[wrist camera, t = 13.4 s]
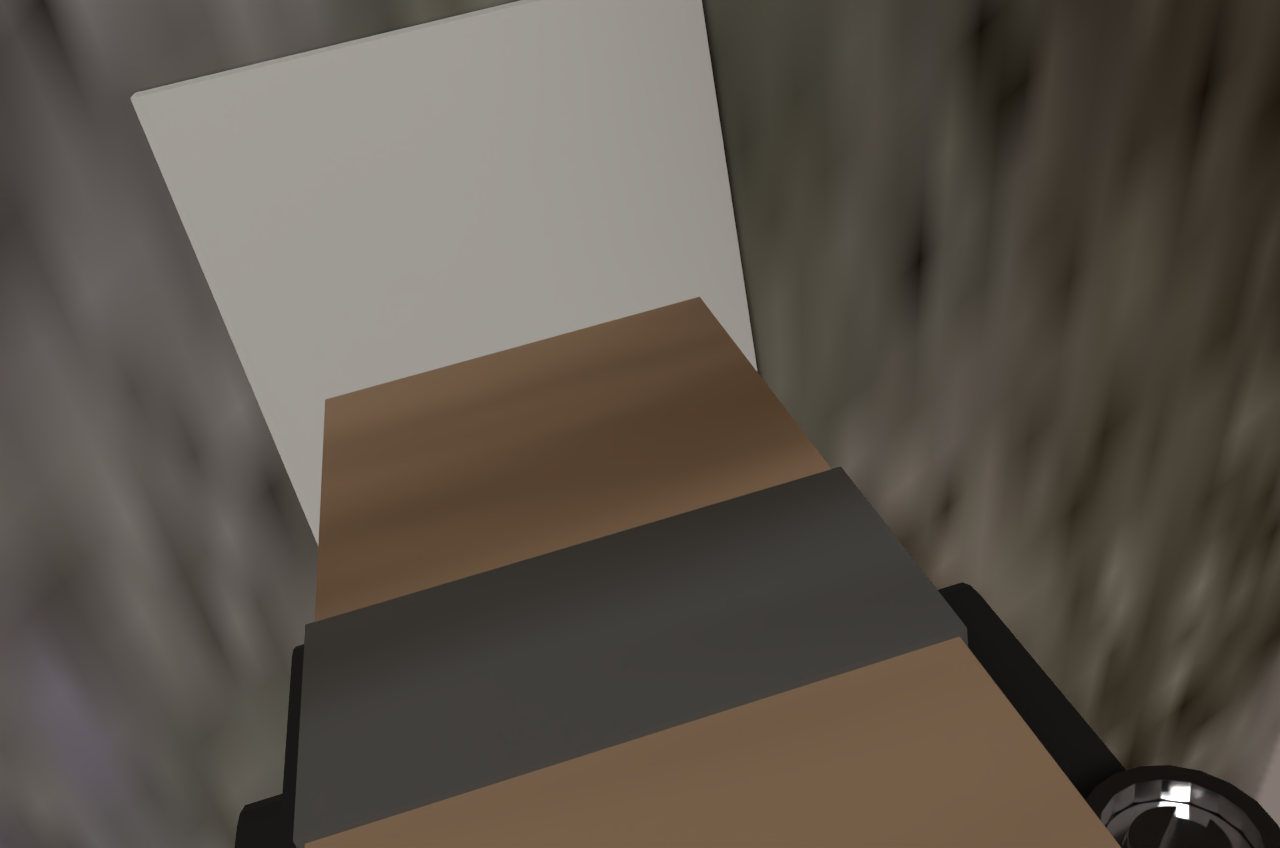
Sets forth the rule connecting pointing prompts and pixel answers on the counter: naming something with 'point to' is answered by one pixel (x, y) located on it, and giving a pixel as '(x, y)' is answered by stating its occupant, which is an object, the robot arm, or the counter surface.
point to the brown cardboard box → (636, 624)
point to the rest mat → (450, 196)
